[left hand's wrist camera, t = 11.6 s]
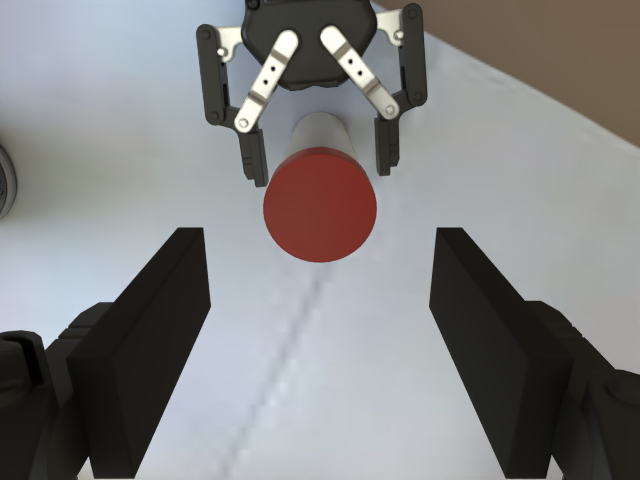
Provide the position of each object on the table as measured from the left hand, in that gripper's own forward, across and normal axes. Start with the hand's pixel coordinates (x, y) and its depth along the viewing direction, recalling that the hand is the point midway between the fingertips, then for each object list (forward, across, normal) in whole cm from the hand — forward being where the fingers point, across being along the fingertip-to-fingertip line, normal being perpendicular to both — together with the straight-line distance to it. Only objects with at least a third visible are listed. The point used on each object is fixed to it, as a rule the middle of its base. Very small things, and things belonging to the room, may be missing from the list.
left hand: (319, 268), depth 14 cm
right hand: (+19, 0, -2) cm, 19 cm away
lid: (+6, 0, 0) cm, 6 cm away
